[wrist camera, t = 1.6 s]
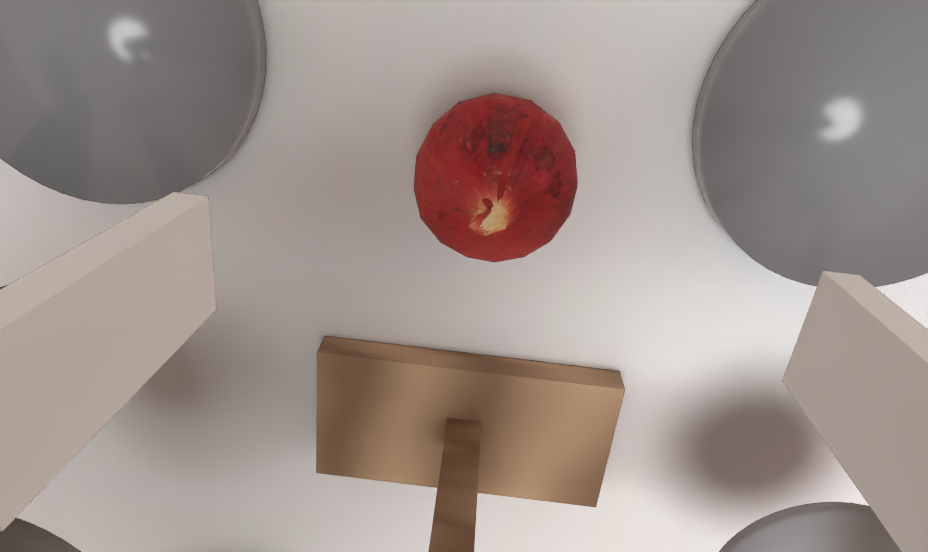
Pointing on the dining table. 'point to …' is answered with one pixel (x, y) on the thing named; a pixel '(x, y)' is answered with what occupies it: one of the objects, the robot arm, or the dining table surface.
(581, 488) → the balance
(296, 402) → the dining table surface
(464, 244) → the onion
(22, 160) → the dish
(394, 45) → the dining table surface
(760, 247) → the dish
